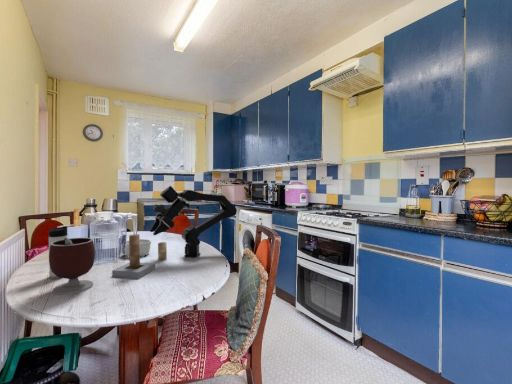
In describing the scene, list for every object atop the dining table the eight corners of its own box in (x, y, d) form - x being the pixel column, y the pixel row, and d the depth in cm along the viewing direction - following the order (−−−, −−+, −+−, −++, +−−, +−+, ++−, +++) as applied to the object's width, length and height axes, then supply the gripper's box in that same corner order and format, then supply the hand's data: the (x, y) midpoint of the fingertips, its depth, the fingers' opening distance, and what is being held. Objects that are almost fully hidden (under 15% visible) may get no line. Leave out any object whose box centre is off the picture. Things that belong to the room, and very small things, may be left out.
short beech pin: (168, 258, 140) (167, 242, 139) (164, 260, 136) (163, 244, 135) (160, 257, 140) (160, 242, 140) (156, 259, 137) (156, 243, 136)
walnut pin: (140, 270, 120) (140, 234, 120) (139, 273, 116) (138, 235, 116) (130, 271, 119) (129, 234, 118) (128, 274, 115) (128, 236, 115)
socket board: (155, 269, 122) (155, 263, 122) (138, 278, 111) (138, 272, 111) (130, 267, 125) (130, 261, 125) (112, 276, 113) (112, 270, 113)
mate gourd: (56, 283, 105) (55, 231, 104) (98, 279, 110) (97, 228, 109) (42, 300, 90) (40, 239, 90) (90, 294, 95) (89, 236, 94)
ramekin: (155, 251, 152) (155, 239, 152) (143, 258, 139) (143, 244, 139) (132, 251, 153) (132, 238, 153) (118, 257, 140) (118, 244, 140)
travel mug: (73, 274, 115) (71, 226, 114) (57, 279, 109) (55, 229, 108) (62, 272, 117) (61, 225, 116) (45, 278, 111) (44, 228, 110)
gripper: (159, 197, 144) (136, 219, 139) (167, 199, 128) (141, 225, 123) (175, 211, 148) (153, 233, 143) (184, 215, 132) (160, 240, 127)
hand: (152, 233), depth 134 cm, fingers open, 9 cm apart
